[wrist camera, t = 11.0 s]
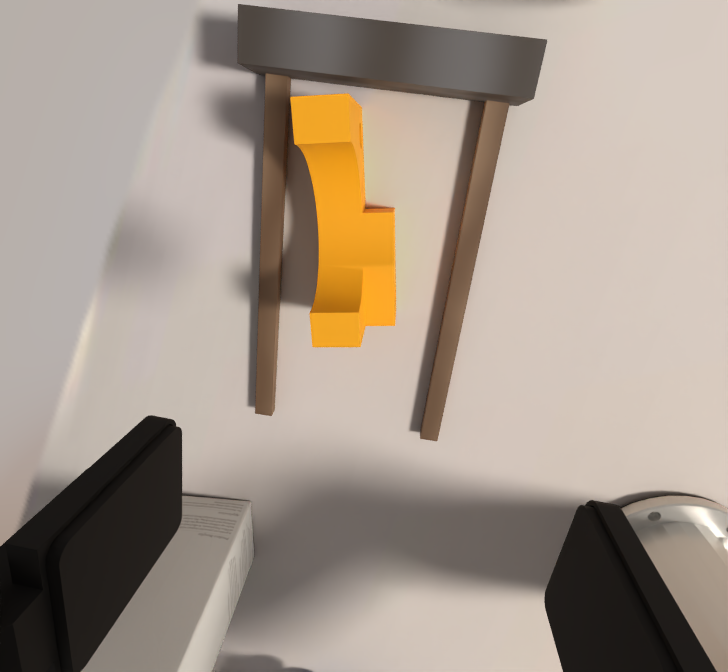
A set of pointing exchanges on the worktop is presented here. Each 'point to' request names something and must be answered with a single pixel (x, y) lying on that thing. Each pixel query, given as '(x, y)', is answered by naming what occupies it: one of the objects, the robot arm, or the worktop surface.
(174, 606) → the skincare box
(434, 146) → the worktop surface
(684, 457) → the worktop surface
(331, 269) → the pipe clamp
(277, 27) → the rail
